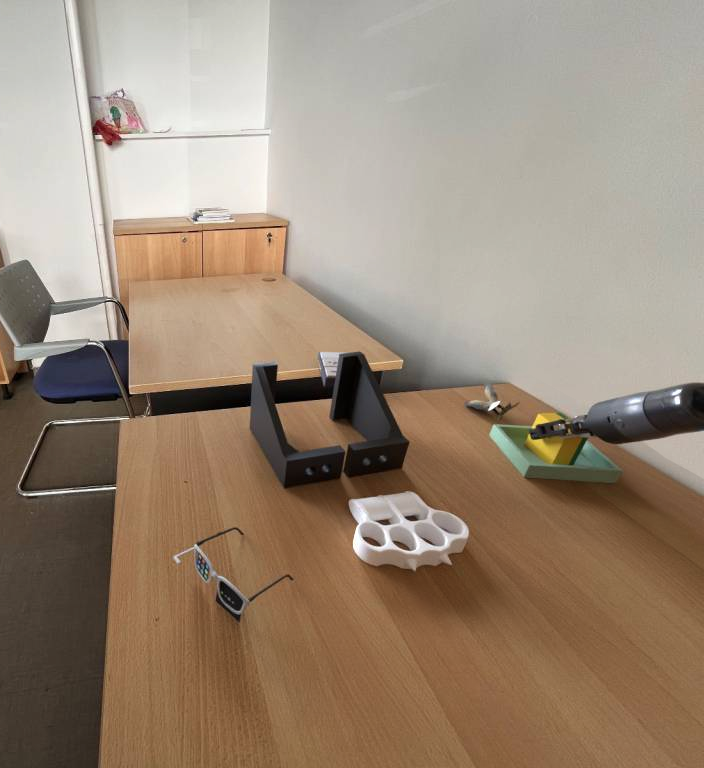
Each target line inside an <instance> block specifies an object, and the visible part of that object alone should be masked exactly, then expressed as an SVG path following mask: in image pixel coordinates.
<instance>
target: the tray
mask: <svg viewBox="0 0 704 768" xmlns="http://www.w3.org/2000/svg"><path fill="white" fill-rule="evenodd" d="M532 427H533V425H514V424H513V425H512V424H496V423H495V424H494V423H493V425H492V427H491V430H490V433H489V438H491V440H492V441H493V442H494V443H495V444H496V445H497V447H498V449H500V451H501V452H502V453H503V454H504V456H506V458H507V459H508V460H509V461H510V462H511V464H512V465H513V466H514V468H516V470H517V471H518V472H519V474H521V476H523V478H529V479H545V480H559V481H560V480H561V481H577V482H590V483H591V482H592V483H605V484H607V483H608V484H616V482H617V481H618V480H619V478H620V476H621V475H622V473H623V469H621V467H619V466H618V465H617V464H615V463H614V462H613V460H611V459H610V458H609V457H607V455H605V454H604V453H603V452H602V451H600V449H598V448H597V447H596V446H595V445H594V444H592V443H591V442H590V441H589V440H588V439H587V441H586V443H585V445H584V447H583V448H582V450H581V452H580V454H579V456H578V458H577V459H576V461H575V463H574V465H557V464H546V463H545V462H544V461H542V460H541V459H540V458H539V457H538V456H536V455H535V454H534V453H533V452H532V451H530V450H529V449H528V448H527V447H525V446H524V444H525V442H526V440H527V438H528V436H529V430H530V429H532Z"/></svg>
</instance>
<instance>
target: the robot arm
mask: <svg viewBox="0 0 704 768" xmlns="http://www.w3.org/2000/svg"><path fill="white" fill-rule="evenodd" d="M567 422H570V423H569V424H566V423H567ZM535 426H536V428H533V429H530V430H529V433H530V437H531V439H532V440H539V439H544V438H548V439H549V438H552V437H561V438H565V439H567V438H575V437H584V438H587V437H588V438H598V439H599V440H601V441H603V442H605V443H607V444H611V445H623V444H632V443H636V442H637V443H639V442H645V441H646V442H647V441H653V440H661V439H666V438H671V437H673V436H678V435H684V434H692V433H693V434H694V433H699V432H704V382H699V381H698V382H697V381H696V382H686V383H681V384H676V385H673V386H668V387H664V388H660V389H655V390H648V391H647V390H646V391H640V392H635V393H631V394H627V395H624V396H619V397H615V398H610V399H607V400H603V401H598V402H596V403H594V404H593V405H591V407H590V408H589V410H588V412H587V414H581V415H576V416H574V417H571V418H569V419H563V420H562V419H559V420H557V421H552V422H548V423H543V424H538V425H535ZM569 429H570V432H571V433H572V435H568V434H567V433H569V432H568V430H569Z"/></svg>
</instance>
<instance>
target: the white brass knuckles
mask: <svg viewBox="0 0 704 768" xmlns="http://www.w3.org/2000/svg"><path fill="white" fill-rule="evenodd" d="M348 508H349V511H350V513H351V514H352V517H353V518H354V520H355V521H356V522H357V524H358V525H357V526H356V529H355V533H354V537H353V540H352V548H353V551H354V553H355V554H356V556H357V557H359V559H361V561H362V562H364V563H366V564H368V565H371V566H372V567H379V566H383V565H391V566H395V567H397V568H400V569H403V570H404V569H405V570H412V571H414V572H416V570H417V569H418V568H419V567H421V566H433V567H436V566H438V565H440V564H442V563H444V564H447V565H448V566H449V565H450V566H453V564H452V561H451V559H450V557H449V555H450V554H461V553H462V552H463V551H464V549H465V546H466V544H467V543H468V539H469V537H470V530H469V527H468V526H467V524H466V523H465V522H464V521H463V520H462V519H461V518H460V517H459V516H456V515H454V514H453V513H450V512H448V511H444V510H438V509H435V508H432V507H430V506H429V505H427V504H426V503H425V502H424V500H422V498H421V497H420V496H419V495H418V494H417V493H416V492H414V491H409V490H407V491H404V492H400V493H392V494H386V495H385V494H384V495H383V494H378V495H377V496H371V497H363V498H362V497H361V498H351V499H349V500H348ZM411 516H414V517H415V518H416V520H413V521H412V520H408V519H407V518H406V517H411ZM385 520H386V521H387V522H388V523H389V524H387V525H384V524H381V523H380V522H379V521H385ZM364 538H369V539H372V540H374V541H376V542H377V543H378V544H379V545H380V546H375V545H372V544H370V543H369V542H367V541H366V540H364ZM424 539H425V540H427V541H429V542H431V543H432V544H430V543H428V542H427V541H425V540H424ZM394 542H399V543H401V544H403V545H405V546H406V547H407V548H408V549H409V550H405V549H403V548H400V547H399V546H397V545H396V544H395V543H394Z"/></svg>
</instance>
